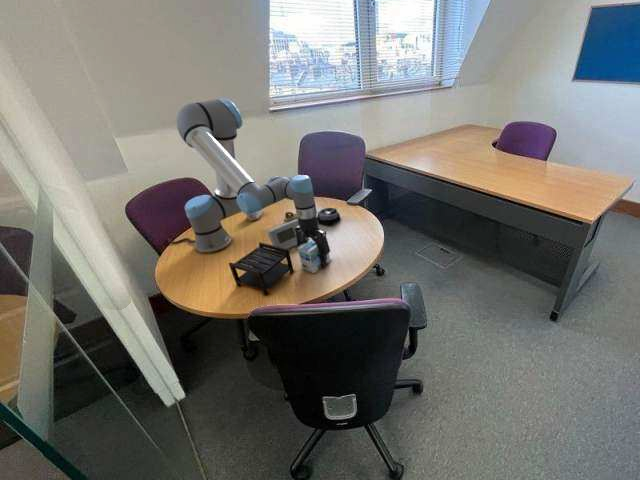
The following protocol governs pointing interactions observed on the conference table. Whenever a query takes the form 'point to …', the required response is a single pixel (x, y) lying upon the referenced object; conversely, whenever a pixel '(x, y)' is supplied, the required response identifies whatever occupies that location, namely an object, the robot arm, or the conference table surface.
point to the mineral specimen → (255, 215)
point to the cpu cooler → (328, 216)
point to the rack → (262, 267)
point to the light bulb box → (311, 256)
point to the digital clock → (284, 235)
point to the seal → (290, 216)
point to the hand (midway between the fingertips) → (316, 264)
